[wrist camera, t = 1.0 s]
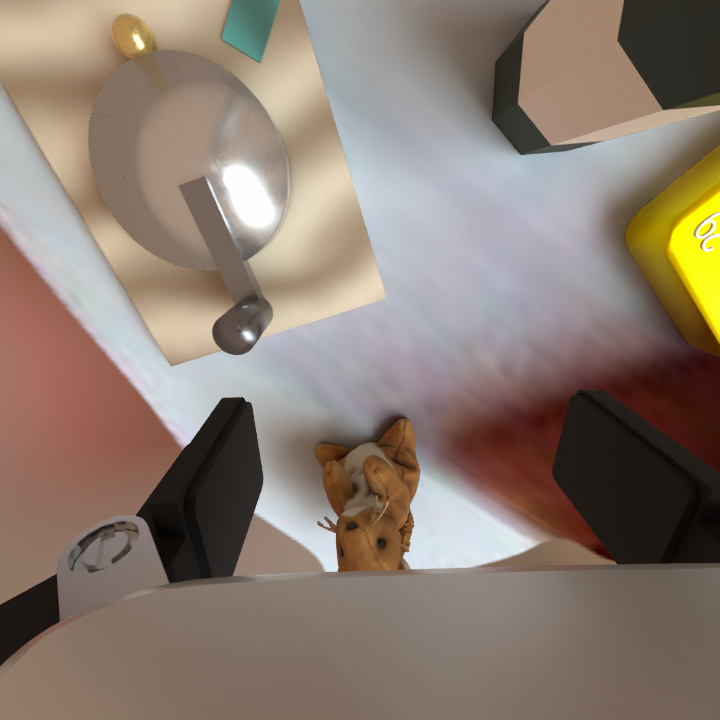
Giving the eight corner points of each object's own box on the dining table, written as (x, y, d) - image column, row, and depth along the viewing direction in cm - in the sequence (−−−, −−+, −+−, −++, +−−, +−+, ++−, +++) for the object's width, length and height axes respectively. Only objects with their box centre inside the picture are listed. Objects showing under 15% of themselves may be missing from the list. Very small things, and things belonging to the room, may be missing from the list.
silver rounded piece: (48, 65, 21) (-77, 7, 15) (229, -15, 20) (173, -115, 14) (199, 343, 28) (157, 380, 22) (339, 298, 27) (334, 325, 21)
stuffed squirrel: (409, 408, 33) (440, 522, 21) (430, 513, 39) (463, 651, 27) (308, 428, 34) (283, 549, 22) (343, 529, 40) (338, 669, 28)
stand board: (-17, 22, 22) (-46, 7, 20) (266, -112, 19) (258, -139, 18) (179, 359, 31) (169, 367, 29) (384, 293, 29) (386, 298, 27)
